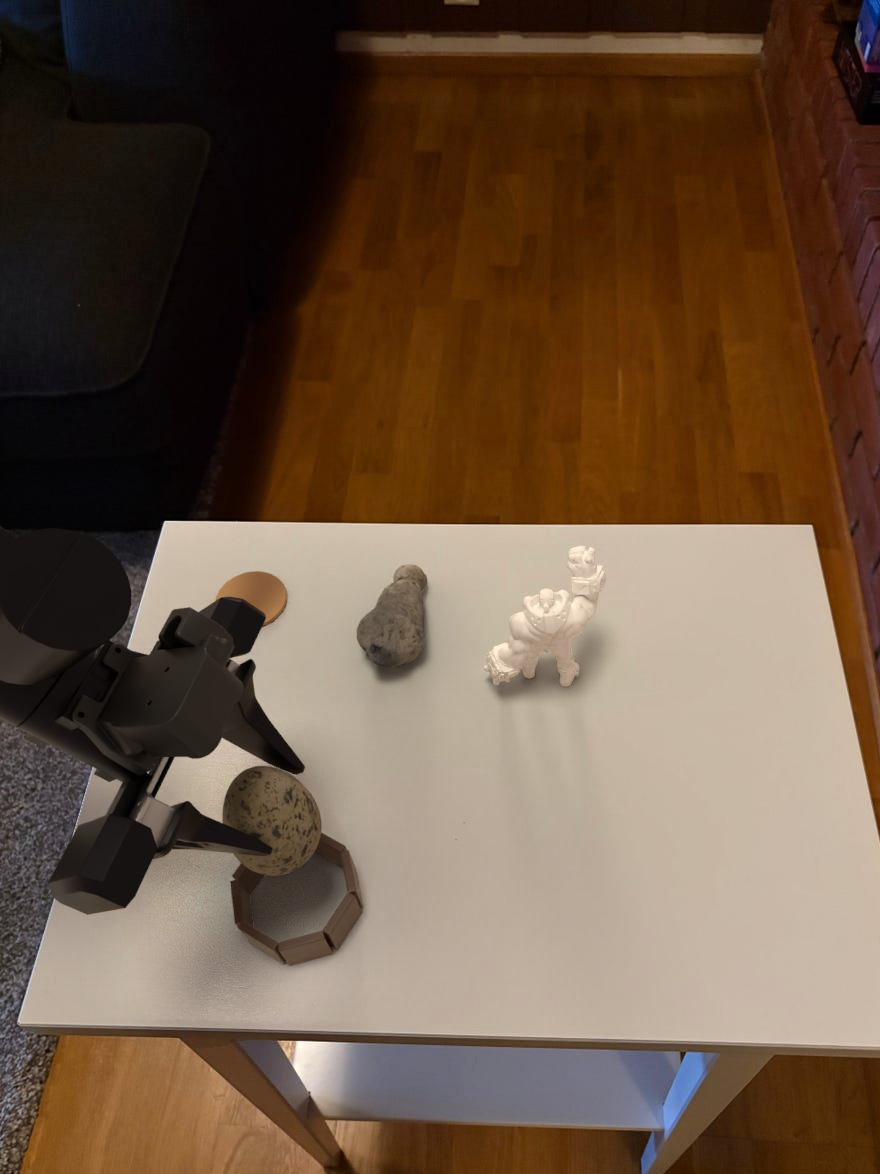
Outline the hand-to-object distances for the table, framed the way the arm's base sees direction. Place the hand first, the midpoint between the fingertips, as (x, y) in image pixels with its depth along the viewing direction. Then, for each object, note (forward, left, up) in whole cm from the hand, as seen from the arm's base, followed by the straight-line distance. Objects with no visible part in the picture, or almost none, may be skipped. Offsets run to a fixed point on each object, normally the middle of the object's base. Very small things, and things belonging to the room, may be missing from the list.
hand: (285, 811), depth 55 cm
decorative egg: (-1, +1, -7) cm, 7 cm away
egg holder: (-2, -1, -13) cm, 13 cm away
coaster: (-2, +28, -13) cm, 31 cm away
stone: (+10, +21, -13) cm, 27 cm away
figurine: (+21, +14, -13) cm, 29 cm away
